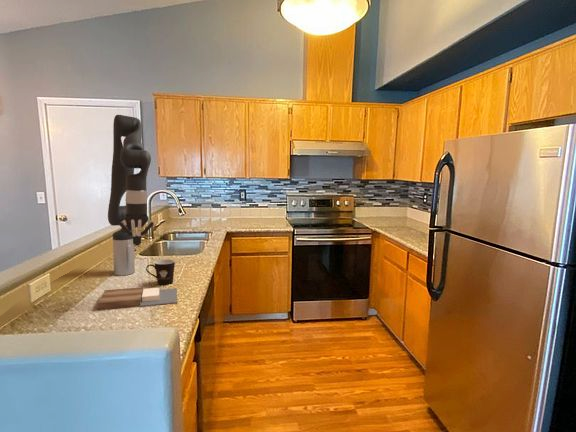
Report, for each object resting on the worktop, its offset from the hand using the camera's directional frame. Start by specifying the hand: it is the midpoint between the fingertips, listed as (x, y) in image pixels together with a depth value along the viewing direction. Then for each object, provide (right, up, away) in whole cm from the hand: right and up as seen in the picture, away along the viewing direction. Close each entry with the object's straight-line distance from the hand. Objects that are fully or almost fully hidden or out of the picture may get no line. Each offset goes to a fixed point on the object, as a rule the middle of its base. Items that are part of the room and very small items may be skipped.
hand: (137, 245), depth 128 cm
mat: (+9, -21, +1) cm, 23 cm away
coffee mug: (+3, -19, +19) cm, 27 cm away
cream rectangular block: (+5, -21, 0) cm, 21 cm away
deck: (-4, -21, -3) cm, 22 cm away
